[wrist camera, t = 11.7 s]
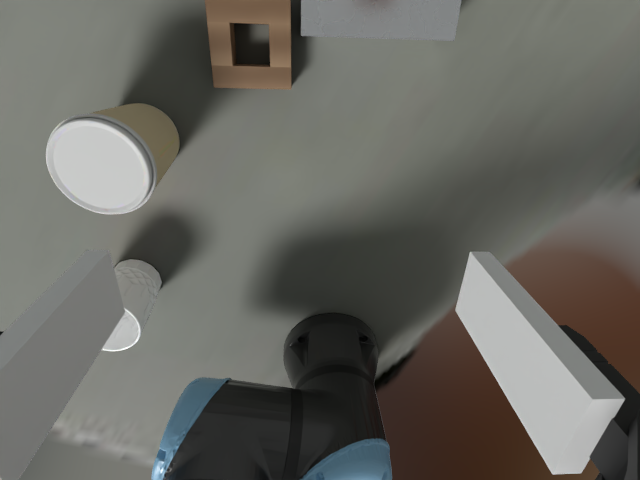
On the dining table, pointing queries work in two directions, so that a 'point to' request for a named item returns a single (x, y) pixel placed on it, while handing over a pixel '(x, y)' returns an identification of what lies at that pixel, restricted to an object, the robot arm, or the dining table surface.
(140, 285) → the white cup
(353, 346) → the robot arm
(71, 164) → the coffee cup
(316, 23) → the block
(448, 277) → the dining table surface
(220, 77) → the wooden square frame
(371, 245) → the dining table surface
